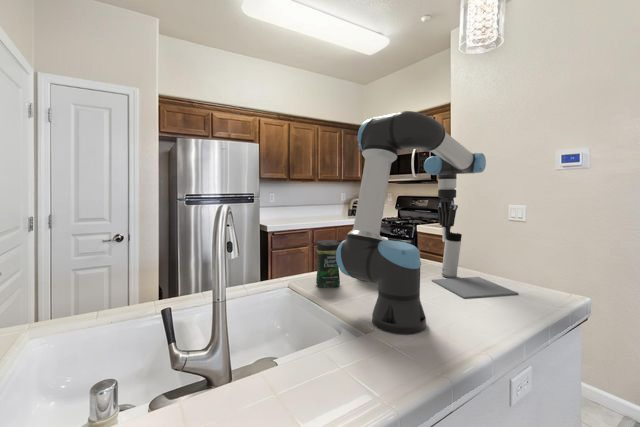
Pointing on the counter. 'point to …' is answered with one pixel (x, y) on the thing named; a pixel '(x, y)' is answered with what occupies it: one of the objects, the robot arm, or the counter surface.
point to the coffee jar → (327, 264)
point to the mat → (473, 287)
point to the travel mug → (451, 254)
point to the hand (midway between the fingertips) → (446, 241)
